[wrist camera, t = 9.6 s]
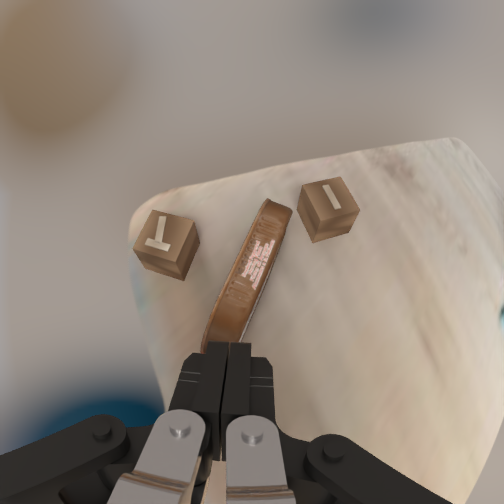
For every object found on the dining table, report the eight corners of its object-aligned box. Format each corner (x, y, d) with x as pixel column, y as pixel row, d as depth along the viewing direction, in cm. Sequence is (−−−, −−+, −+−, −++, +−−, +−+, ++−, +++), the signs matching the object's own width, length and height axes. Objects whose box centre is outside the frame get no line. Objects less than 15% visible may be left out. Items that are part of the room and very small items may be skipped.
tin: (262, 227, 35) (267, 177, 27) (290, 237, 34) (301, 188, 27) (203, 358, 29) (187, 340, 21) (234, 371, 28) (230, 359, 21)
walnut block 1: (331, 201, 37) (340, 175, 33) (348, 232, 35) (360, 209, 31) (296, 210, 36) (302, 184, 32) (312, 243, 34) (321, 219, 30)
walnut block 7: (199, 243, 34) (193, 219, 30) (184, 281, 32) (175, 261, 28) (162, 232, 35) (152, 208, 30) (145, 268, 33) (131, 247, 28)
